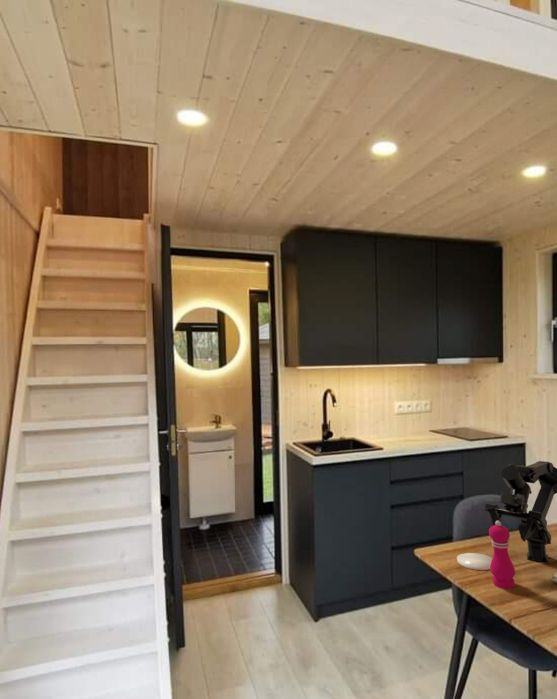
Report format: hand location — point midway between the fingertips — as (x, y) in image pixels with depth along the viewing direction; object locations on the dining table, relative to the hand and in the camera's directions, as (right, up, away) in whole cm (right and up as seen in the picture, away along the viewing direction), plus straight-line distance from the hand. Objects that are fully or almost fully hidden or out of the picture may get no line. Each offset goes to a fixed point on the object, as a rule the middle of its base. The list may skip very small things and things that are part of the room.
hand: (508, 537), depth 144 cm
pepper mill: (-4, -13, -5) cm, 15 cm away
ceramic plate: (-5, -14, +12) cm, 19 cm away
